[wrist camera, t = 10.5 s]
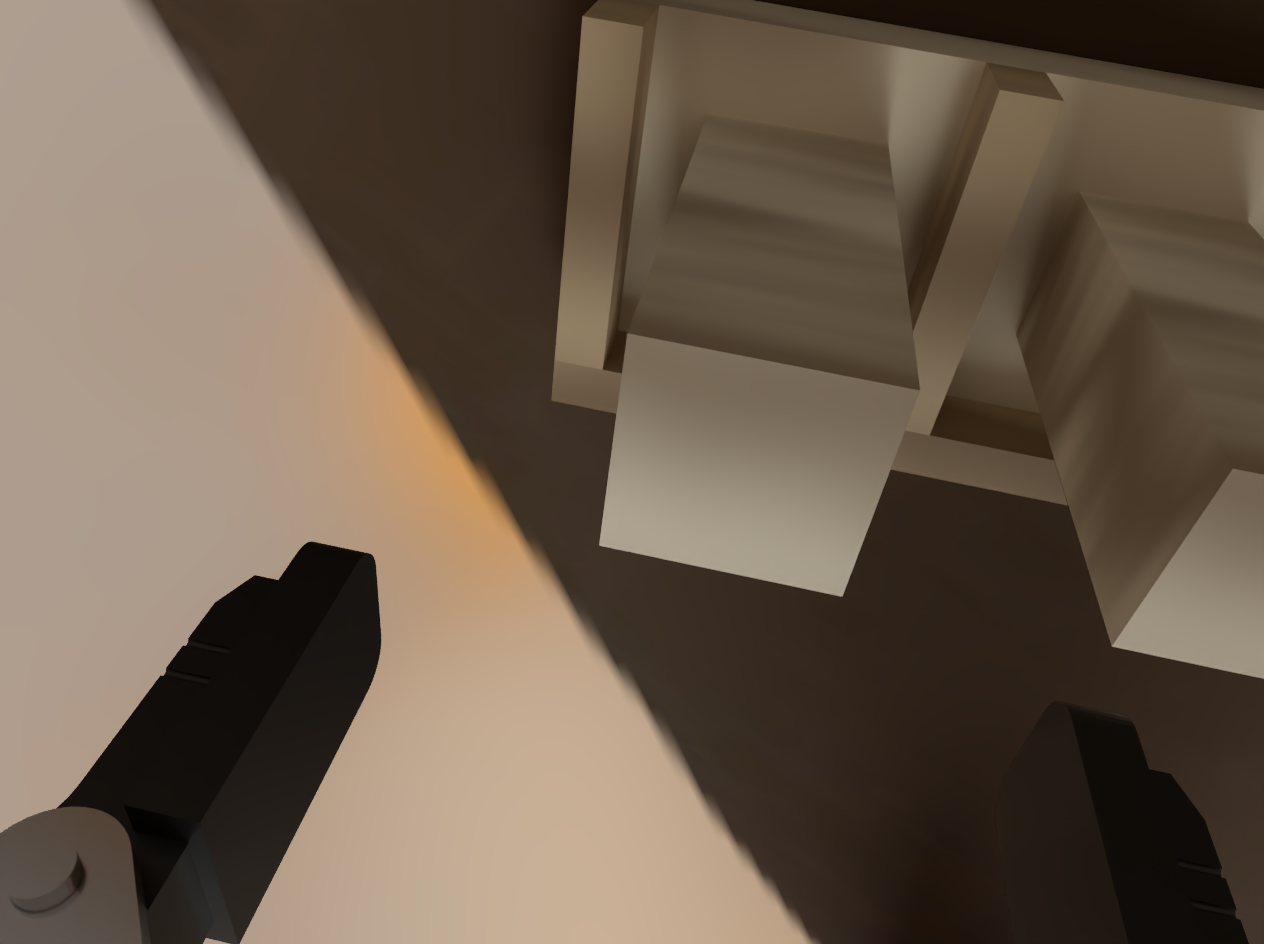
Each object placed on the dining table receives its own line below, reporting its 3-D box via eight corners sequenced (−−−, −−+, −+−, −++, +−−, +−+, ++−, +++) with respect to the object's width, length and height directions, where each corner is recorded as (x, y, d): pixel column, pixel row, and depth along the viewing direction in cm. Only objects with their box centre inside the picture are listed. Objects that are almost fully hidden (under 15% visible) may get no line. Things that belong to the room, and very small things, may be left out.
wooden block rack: (1494, 504, 25) (1889, 953, 16) (585, 324, 26) (447, 634, 17) (1797, 181, 19) (2697, 580, 10) (620, -23, 21) (443, 156, 12)
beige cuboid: (834, 328, 23) (832, 622, 15) (676, 298, 23) (596, 571, 15) (888, 145, 20) (919, 390, 12) (708, 112, 20) (627, 333, 13)
